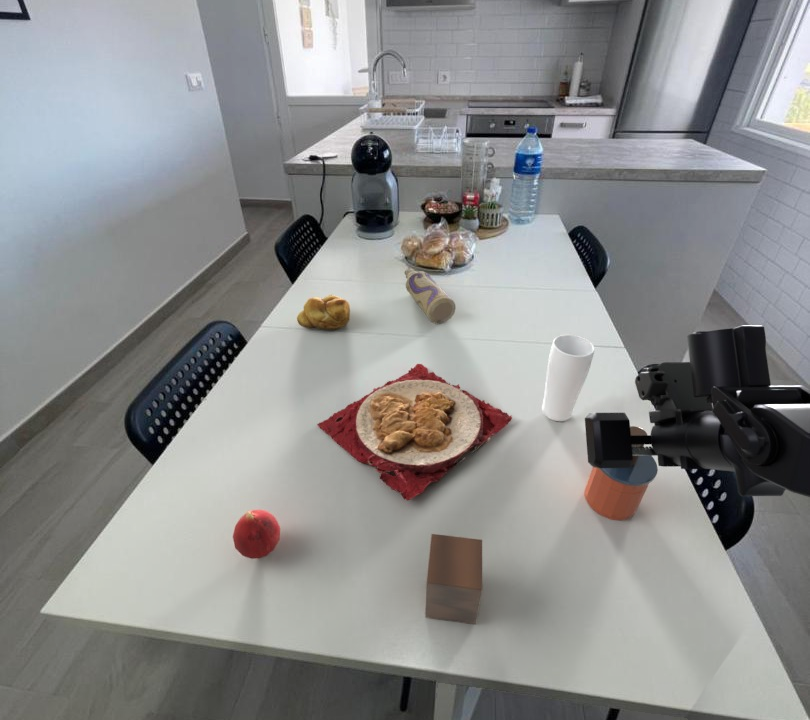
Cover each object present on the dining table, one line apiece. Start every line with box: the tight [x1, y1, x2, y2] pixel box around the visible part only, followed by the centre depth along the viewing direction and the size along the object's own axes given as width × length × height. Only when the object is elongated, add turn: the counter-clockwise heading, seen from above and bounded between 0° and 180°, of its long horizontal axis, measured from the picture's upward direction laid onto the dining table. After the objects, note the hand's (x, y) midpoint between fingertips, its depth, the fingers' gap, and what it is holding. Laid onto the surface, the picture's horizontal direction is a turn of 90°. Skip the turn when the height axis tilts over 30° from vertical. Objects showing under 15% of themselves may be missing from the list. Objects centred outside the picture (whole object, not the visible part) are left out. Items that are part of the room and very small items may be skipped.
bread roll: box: [296, 294, 351, 331], centre depth 106 cm, size 13×10×8 cm
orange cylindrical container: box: [584, 467, 650, 521], centre depth 64 cm, size 7×7×8 cm
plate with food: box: [316, 363, 513, 501], centre depth 79 cm, size 24×26×4 cm
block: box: [424, 533, 483, 625], centre depth 53 cm, size 6×6×8 cm
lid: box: [600, 425, 659, 486], centre depth 60 cm, size 8×8×6 cm
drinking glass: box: [541, 334, 596, 422], centre depth 78 cm, size 7×7×15 cm
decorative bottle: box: [404, 267, 457, 324], centre depth 116 cm, size 26×8×7 cm, turn 18°
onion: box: [232, 509, 281, 560], centre depth 58 cm, size 6×6×8 cm
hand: (634, 439), depth 59 cm, fingers open, 9 cm apart
